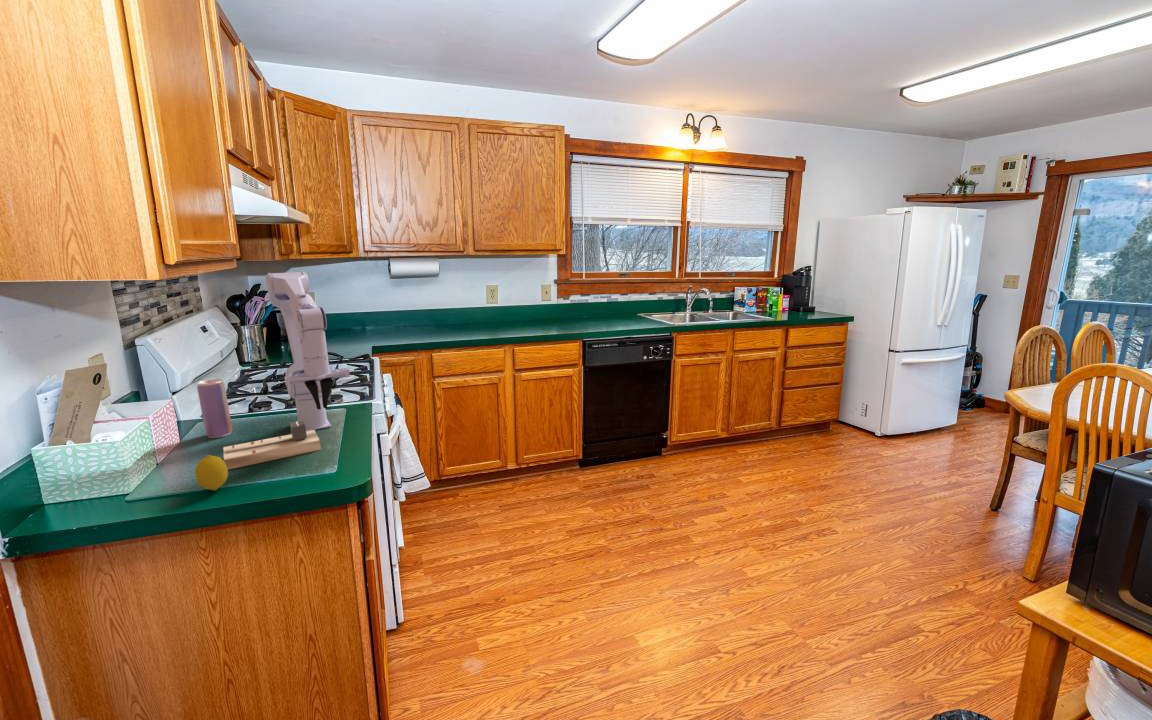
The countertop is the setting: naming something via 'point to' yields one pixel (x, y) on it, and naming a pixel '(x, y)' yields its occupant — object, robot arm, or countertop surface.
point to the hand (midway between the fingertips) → (322, 407)
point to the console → (269, 449)
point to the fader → (298, 430)
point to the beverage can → (214, 408)
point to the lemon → (211, 472)
